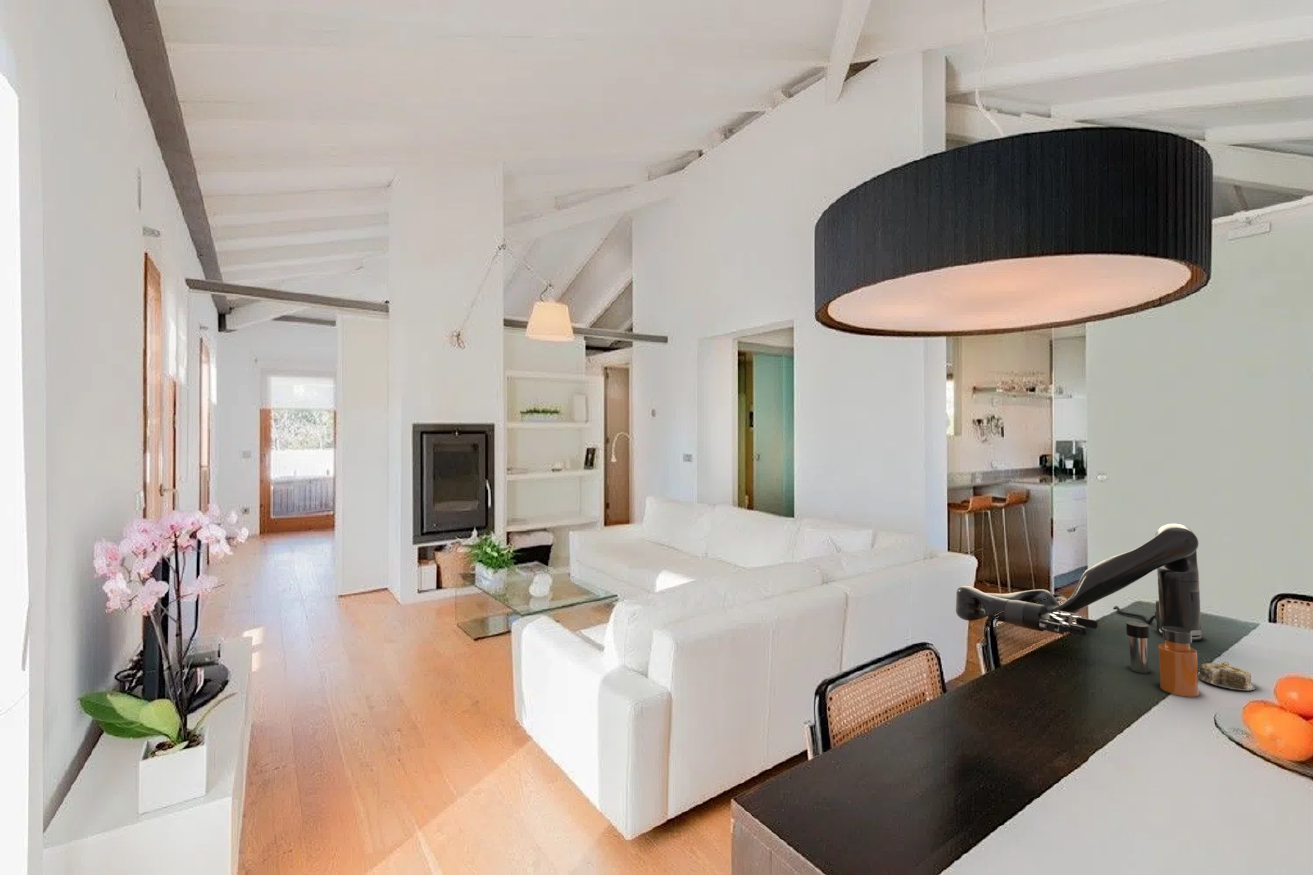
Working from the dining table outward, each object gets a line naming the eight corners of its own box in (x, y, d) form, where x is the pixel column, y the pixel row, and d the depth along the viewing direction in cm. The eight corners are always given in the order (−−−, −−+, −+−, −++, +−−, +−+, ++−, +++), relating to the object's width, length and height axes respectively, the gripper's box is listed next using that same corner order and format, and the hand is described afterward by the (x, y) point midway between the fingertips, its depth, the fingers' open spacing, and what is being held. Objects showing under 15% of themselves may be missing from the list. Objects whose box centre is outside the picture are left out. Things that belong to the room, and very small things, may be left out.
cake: (1190, 674, 146) (1189, 653, 146) (1243, 681, 142) (1241, 658, 142) (1207, 687, 137) (1206, 664, 137) (1264, 694, 133) (1263, 670, 133)
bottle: (1152, 685, 140) (1150, 625, 140) (1179, 683, 140) (1177, 624, 140) (1178, 697, 133) (1175, 634, 133) (1207, 696, 133) (1204, 633, 133)
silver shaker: (1123, 667, 151) (1121, 621, 151) (1140, 666, 151) (1138, 620, 151) (1138, 674, 146) (1136, 627, 146) (1156, 673, 146) (1154, 626, 146)
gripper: (1036, 622, 174) (1101, 635, 161) (1015, 632, 165) (1082, 648, 152) (1035, 597, 174) (1100, 609, 161) (1015, 606, 165) (1081, 619, 152)
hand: (1091, 628), depth 157 cm, fingers open, 8 cm apart
